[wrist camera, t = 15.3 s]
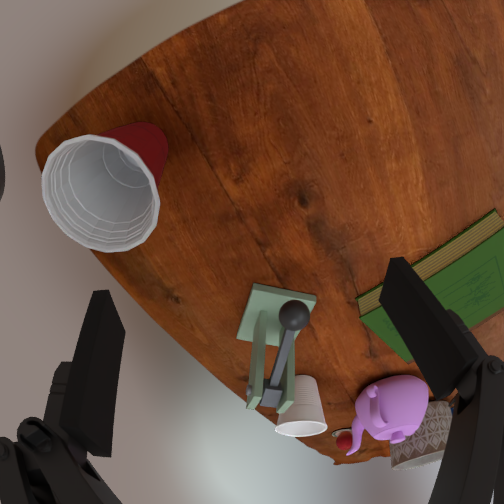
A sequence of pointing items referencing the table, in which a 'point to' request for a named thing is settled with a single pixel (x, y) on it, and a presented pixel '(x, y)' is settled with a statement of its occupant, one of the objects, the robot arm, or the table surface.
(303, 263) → the table surface
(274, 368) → the switch lever
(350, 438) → the apple
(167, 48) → the table surface
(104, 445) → the robot arm
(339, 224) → the table surface
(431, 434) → the planter
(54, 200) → the plastic cup
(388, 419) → the teapot
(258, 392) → the switch bracket
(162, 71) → the table surface
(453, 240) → the book
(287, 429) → the cup
